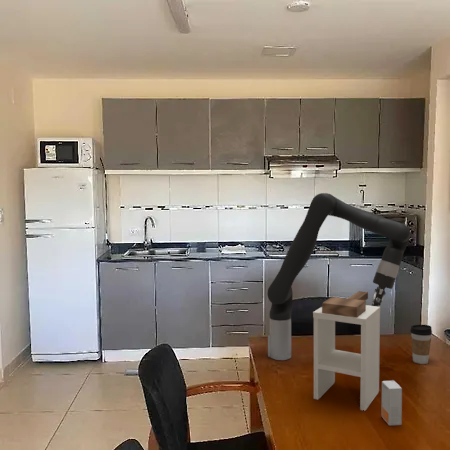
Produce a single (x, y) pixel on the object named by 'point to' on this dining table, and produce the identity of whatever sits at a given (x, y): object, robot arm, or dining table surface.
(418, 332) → the coffee cup
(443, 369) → the dining table surface
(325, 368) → the shelf stand
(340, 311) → the walnut mallet
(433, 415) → the dining table surface
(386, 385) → the skincare box
